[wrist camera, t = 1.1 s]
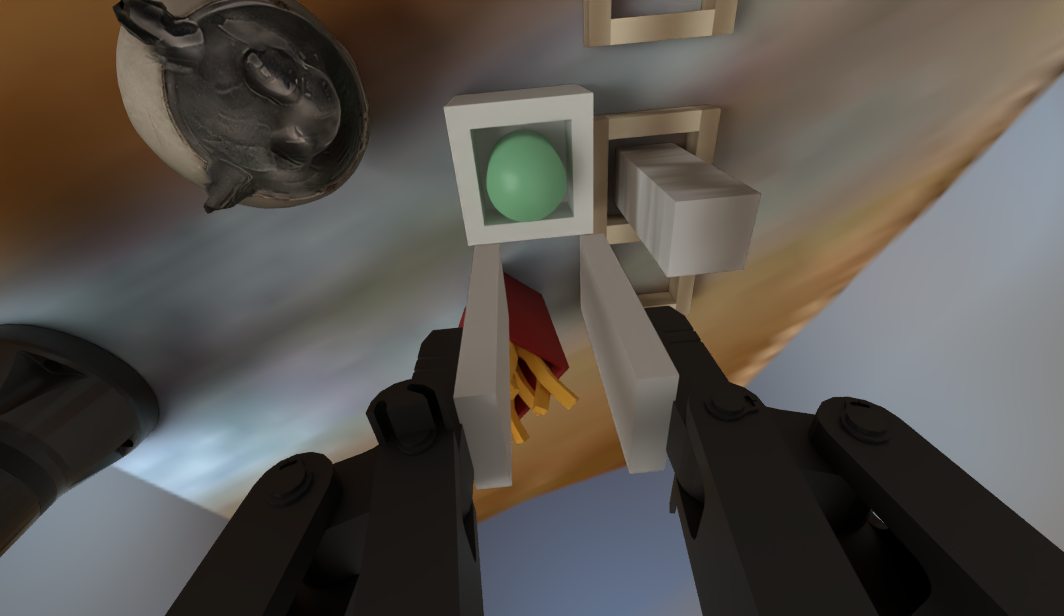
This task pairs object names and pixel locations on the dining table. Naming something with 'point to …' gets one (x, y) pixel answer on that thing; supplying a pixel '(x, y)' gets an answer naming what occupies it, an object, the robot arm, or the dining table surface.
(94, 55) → the dining table surface
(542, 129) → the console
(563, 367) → the french fries
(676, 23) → the pallet
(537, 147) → the button
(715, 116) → the pallet
